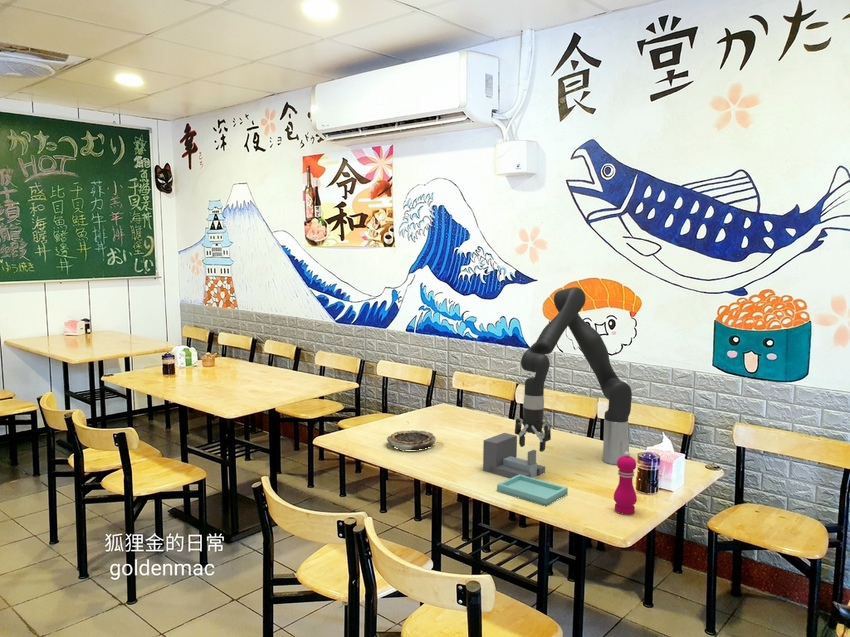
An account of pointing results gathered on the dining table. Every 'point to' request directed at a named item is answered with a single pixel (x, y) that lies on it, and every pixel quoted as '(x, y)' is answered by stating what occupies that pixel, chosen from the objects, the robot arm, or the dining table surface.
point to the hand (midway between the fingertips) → (531, 448)
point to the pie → (411, 440)
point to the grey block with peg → (523, 463)
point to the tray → (532, 489)
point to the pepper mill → (625, 485)
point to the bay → (503, 456)
